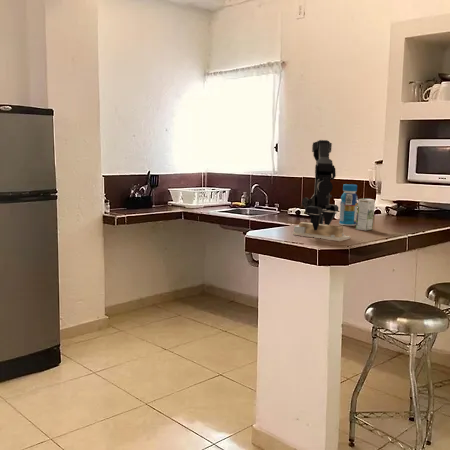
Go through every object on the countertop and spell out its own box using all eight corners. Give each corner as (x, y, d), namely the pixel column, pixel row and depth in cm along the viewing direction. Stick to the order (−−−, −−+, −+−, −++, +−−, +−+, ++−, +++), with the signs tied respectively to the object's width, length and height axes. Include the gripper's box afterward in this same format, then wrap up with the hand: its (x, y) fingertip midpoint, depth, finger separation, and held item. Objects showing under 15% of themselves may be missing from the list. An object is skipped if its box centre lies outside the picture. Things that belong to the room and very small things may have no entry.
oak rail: (298, 232, 236) (299, 222, 235) (302, 231, 239) (303, 222, 239) (338, 237, 227) (339, 227, 226) (342, 235, 230) (342, 226, 229)
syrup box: (361, 228, 263) (364, 198, 261) (372, 230, 259) (375, 199, 257) (355, 229, 259) (357, 198, 257) (366, 231, 255) (368, 199, 253)
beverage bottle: (335, 224, 275) (337, 184, 272) (346, 223, 280) (349, 184, 277) (348, 226, 268) (350, 185, 265) (359, 225, 273) (362, 185, 270)
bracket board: (304, 232, 243) (304, 224, 243) (350, 238, 230) (350, 230, 229) (292, 234, 236) (292, 226, 235) (339, 241, 222) (339, 232, 222)
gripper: (317, 190, 243) (315, 225, 245) (294, 191, 228) (292, 229, 230) (340, 192, 236) (337, 228, 238) (318, 193, 221) (316, 232, 223)
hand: (320, 229), depth 233 cm, fingers open, 9 cm apart
